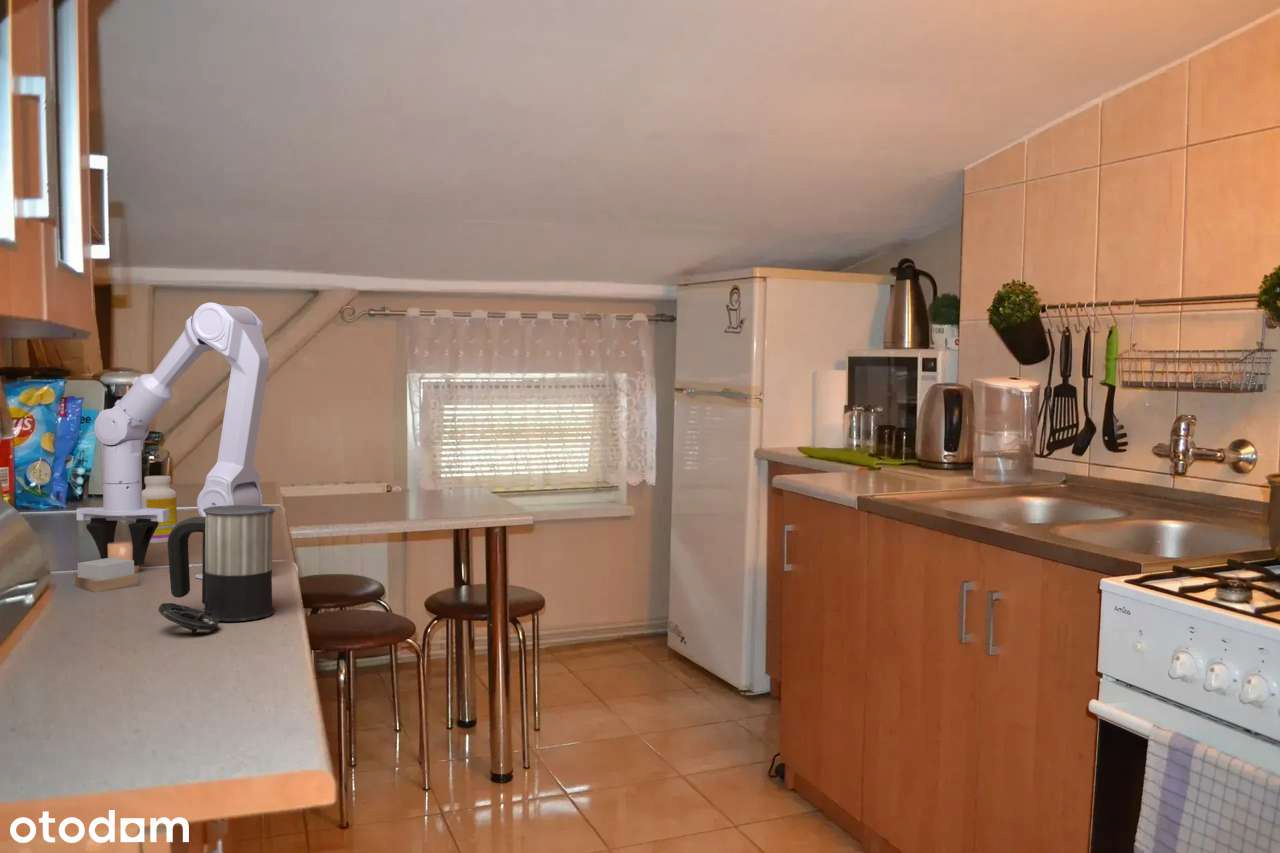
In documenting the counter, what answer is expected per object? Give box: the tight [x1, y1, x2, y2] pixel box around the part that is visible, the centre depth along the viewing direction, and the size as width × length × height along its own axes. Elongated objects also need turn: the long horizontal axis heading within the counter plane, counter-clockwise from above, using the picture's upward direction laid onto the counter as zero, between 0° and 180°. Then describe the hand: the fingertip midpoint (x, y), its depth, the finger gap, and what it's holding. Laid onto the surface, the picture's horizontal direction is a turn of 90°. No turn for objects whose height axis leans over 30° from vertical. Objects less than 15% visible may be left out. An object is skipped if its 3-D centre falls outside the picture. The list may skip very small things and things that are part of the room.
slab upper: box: [77, 558, 135, 581], centre depth 158 cm, size 6×6×2 cm
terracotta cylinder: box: [107, 540, 140, 575], centre depth 169 cm, size 5×5×5 cm
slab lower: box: [74, 574, 139, 594], centre depth 158 cm, size 6×6×2 cm
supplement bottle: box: [142, 475, 178, 544], centre depth 201 cm, size 7×7×13 cm
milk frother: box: [158, 504, 276, 634], centre depth 136 cm, size 14×16×15 cm
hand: (123, 564), depth 169 cm, fingers closed on terracotta cylinder, 5 cm apart
